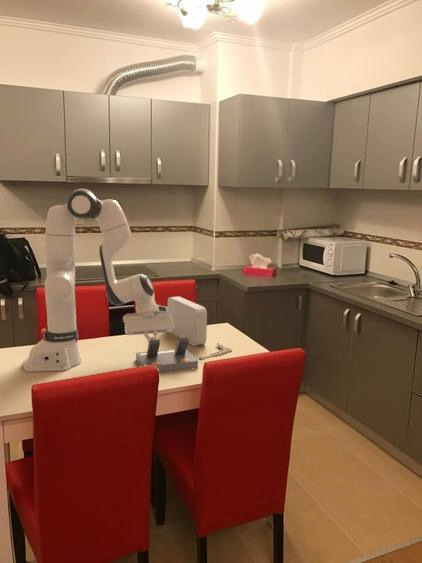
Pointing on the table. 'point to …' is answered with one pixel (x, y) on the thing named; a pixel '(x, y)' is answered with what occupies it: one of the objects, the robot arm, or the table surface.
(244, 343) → the table surface
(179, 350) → the lever
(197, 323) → the light grey rounded box
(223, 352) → the jawbone
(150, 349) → the lever
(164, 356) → the breaker panel
